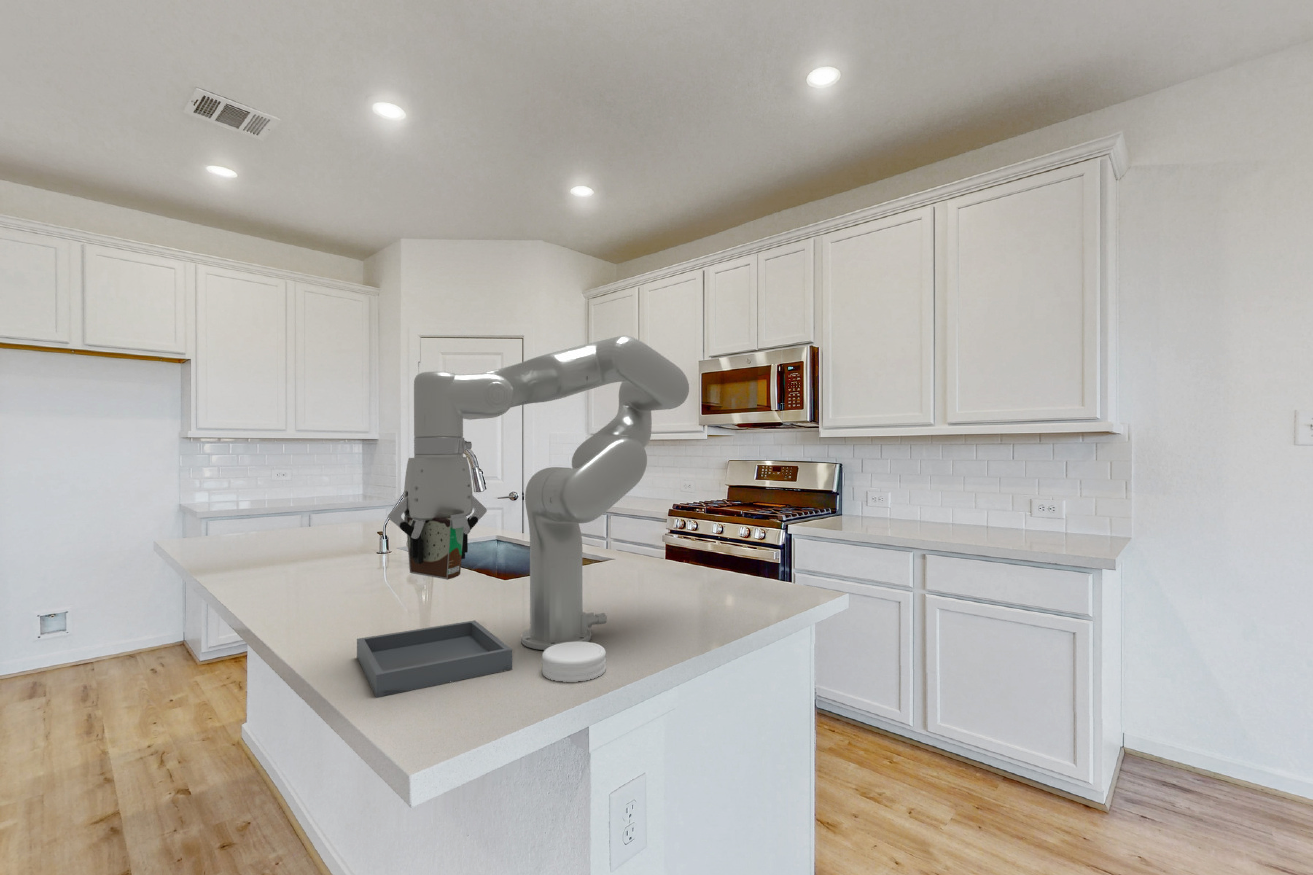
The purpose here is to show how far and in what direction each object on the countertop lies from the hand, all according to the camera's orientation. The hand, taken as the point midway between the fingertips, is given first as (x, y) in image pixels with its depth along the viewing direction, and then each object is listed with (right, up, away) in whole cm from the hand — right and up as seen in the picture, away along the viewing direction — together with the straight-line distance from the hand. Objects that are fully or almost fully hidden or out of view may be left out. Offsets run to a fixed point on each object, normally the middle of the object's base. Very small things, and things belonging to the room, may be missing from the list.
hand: (439, 559), depth 101 cm
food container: (+1, -3, +1) cm, 3 cm away
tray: (-2, -17, +2) cm, 18 cm away
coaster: (+22, -18, -2) cm, 28 cm away
